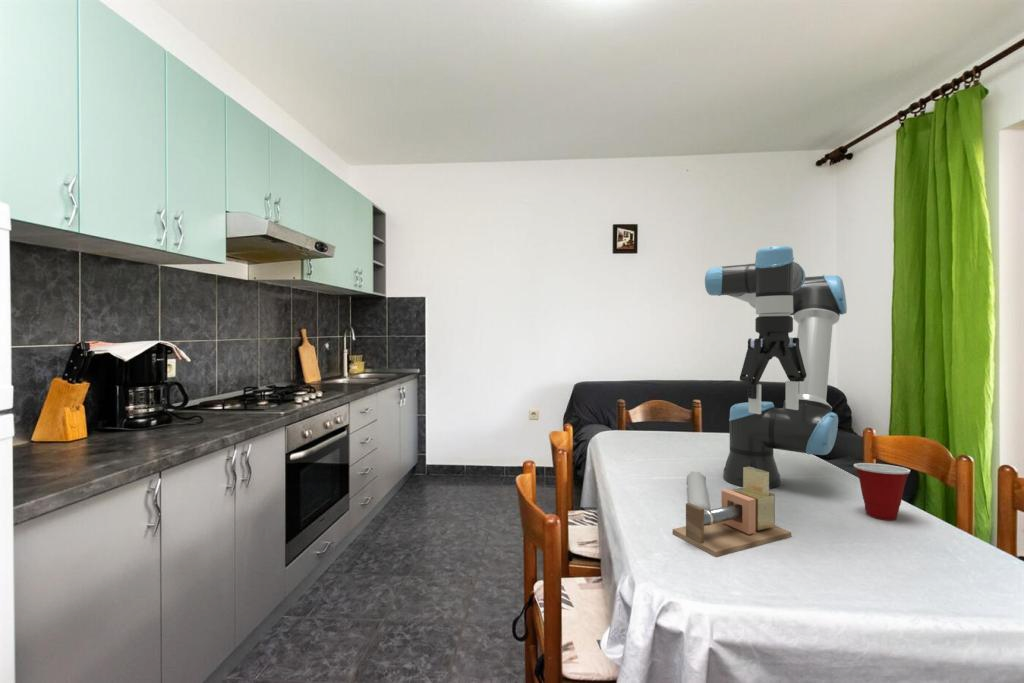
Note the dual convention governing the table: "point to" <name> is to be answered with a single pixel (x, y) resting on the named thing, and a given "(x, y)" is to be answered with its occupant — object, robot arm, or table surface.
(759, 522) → the sleeve
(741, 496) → the square pink collar
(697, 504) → the tube
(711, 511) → the pipe
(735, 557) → the table surface
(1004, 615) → the table surface
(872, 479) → the plastic cup
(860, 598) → the table surface
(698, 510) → the base board
